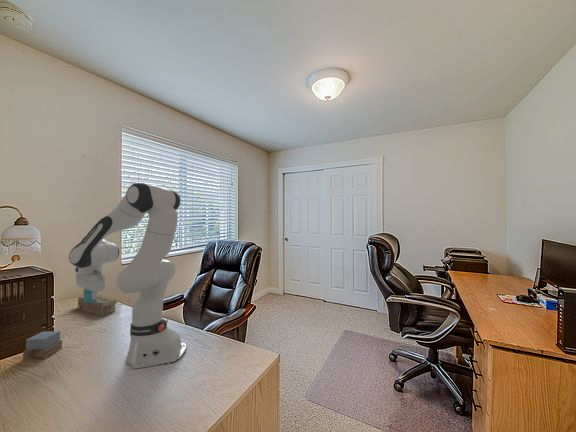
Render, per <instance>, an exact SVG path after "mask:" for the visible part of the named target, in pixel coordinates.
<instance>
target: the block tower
mask: <svg viewBox="0 0 576 432" xmlns="http://www.w3.org/2000/svg"><path fill="white" fill-rule="evenodd" d="M117 300H118V299H116V298H111V297H107V296H103V297H102V295H98V294H97V301H95V302H91V303H83V294H81V295H80V296H78V297H77V309H79V310H82V311H85V312H88V313H91V314H95V315H97V316H100V317H102V316H105V315H106V316H107V315H108V314H111V313H115V312H116V304H117V303H118V302H117Z"/></svg>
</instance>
